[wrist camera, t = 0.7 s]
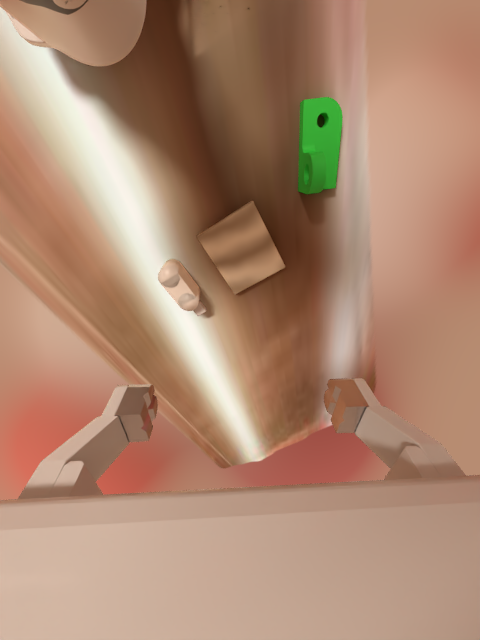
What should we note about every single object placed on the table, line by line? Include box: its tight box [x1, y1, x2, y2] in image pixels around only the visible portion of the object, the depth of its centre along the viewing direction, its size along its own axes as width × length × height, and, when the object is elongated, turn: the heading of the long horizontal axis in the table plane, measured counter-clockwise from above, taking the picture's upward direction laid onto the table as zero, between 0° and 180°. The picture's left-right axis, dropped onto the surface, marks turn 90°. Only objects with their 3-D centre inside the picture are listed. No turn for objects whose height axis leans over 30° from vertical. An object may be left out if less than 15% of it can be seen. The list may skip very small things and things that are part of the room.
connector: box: [158, 259, 206, 316], centre depth 50 cm, size 12×4×5 cm, turn 30°
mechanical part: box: [298, 97, 342, 194], centre depth 37 cm, size 12×6×8 cm, turn 6°
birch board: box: [197, 201, 285, 294], centre depth 48 cm, size 14×12×2 cm
